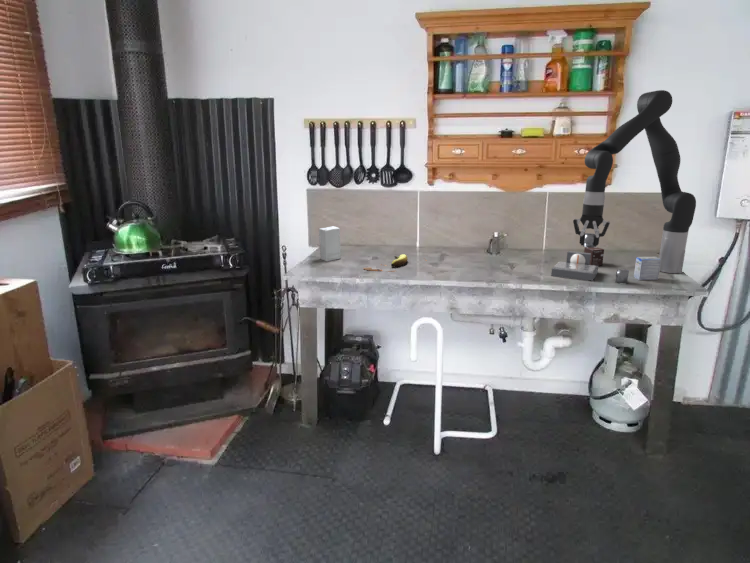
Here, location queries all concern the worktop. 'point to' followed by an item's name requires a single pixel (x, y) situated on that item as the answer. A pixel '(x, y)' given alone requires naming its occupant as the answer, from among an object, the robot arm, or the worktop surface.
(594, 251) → the box
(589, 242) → the spacer
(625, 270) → the spacer
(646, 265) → the medicine box
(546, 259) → the worktop surface
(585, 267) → the dial scale
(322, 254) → the skincare box
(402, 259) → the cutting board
